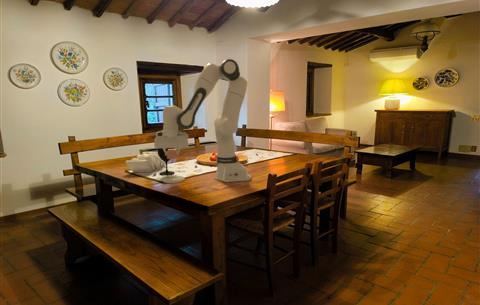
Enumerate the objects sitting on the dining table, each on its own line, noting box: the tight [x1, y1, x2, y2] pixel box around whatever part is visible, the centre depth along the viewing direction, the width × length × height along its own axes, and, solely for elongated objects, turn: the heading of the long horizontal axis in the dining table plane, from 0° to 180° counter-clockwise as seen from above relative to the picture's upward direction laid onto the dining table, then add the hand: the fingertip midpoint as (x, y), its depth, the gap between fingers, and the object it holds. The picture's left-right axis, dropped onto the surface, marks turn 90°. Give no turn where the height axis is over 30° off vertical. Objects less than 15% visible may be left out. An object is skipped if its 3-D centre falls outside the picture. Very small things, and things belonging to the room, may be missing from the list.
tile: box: [161, 175, 185, 184], centre depth 192 cm, size 14×14×1 cm
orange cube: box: [167, 148, 178, 160], centre depth 189 cm, size 5×5×5 cm
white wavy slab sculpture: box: [125, 151, 166, 174], centre depth 222 cm, size 35×16×11 cm, turn 164°
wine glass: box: [157, 148, 176, 176], centre depth 206 cm, size 10×10×20 cm
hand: (171, 155), depth 189 cm, fingers closed on orange cube, 5 cm apart
